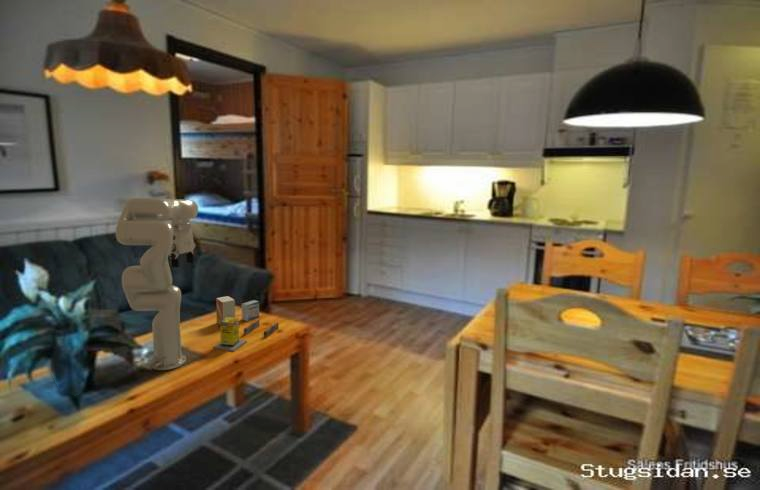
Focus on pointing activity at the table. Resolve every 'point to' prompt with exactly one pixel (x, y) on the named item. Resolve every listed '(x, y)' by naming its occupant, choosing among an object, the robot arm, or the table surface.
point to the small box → (225, 308)
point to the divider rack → (256, 324)
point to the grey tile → (230, 348)
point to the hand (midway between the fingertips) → (182, 264)
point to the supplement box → (229, 331)
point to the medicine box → (250, 310)
